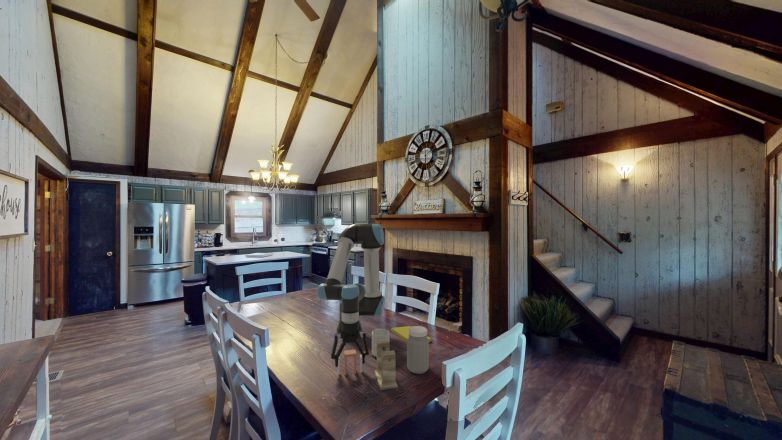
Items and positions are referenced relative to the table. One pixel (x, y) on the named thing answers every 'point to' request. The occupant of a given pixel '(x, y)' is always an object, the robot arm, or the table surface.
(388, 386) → the tan blocky piece
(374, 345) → the mug
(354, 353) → the orange piece
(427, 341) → the jar
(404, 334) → the yellow rectangular slab
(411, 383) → the table surface
